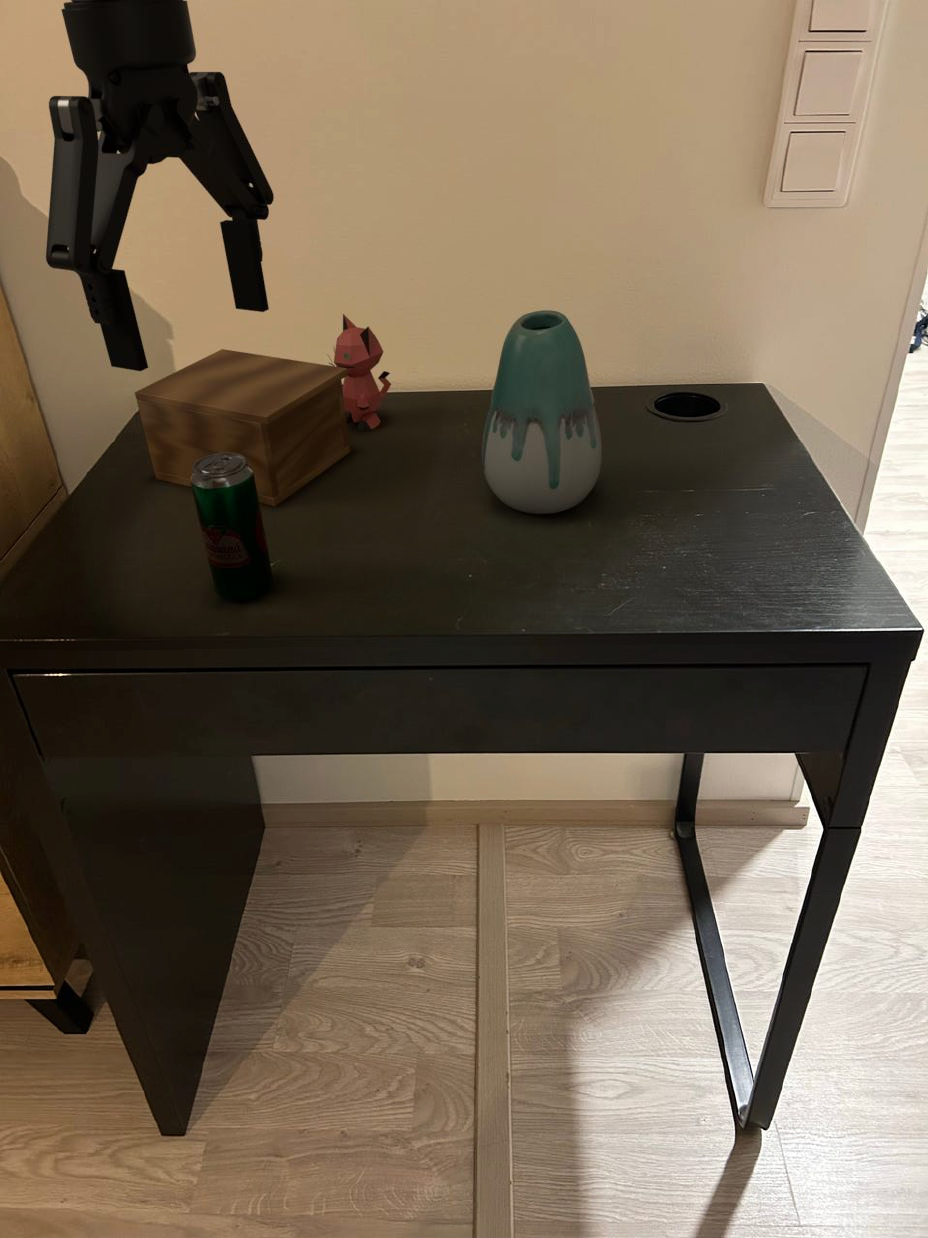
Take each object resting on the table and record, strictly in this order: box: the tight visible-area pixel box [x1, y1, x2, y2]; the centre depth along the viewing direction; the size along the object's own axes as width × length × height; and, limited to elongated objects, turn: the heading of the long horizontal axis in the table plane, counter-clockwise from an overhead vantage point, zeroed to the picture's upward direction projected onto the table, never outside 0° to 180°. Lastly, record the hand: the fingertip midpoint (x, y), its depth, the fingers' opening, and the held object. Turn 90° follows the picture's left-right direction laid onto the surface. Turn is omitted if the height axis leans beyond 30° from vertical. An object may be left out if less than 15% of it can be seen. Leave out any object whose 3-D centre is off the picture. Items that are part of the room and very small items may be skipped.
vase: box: [481, 309, 603, 515], centre depth 89 cm, size 12×12×18 cm
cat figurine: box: [327, 313, 392, 432], centre depth 109 cm, size 7×7×12 cm
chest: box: [136, 379, 351, 507], centre depth 101 cm, size 16×14×9 cm
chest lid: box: [134, 348, 348, 424], centre depth 98 cm, size 17×14×1 cm
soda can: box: [190, 452, 274, 603], centre depth 80 cm, size 5×5×12 cm
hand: (195, 336), depth 71 cm, fingers open, 13 cm apart
